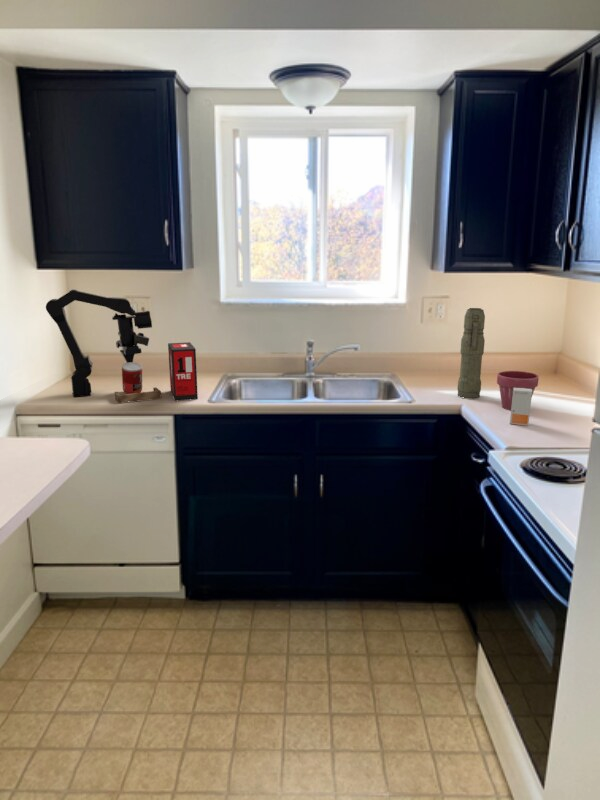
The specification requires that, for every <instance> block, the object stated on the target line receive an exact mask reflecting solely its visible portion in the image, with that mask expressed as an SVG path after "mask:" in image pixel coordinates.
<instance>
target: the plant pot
mask: <svg viewBox="0 0 600 800" xmlns="http://www.w3.org/2000/svg"><path fill="white" fill-rule="evenodd" d="M496 384H497V385H498V387H499V393H500V402H501V407H502V409H505V410H508V411H511V407H512V398H513V388H526V389H532V396H533V395H534V392H535V389H536V388H537V387H538V386H539V375H538V374H536V373H533V372H529V371H521V370H518V371H517V370H507V371H506V370H504V371H501V372H498V373H497V377H496Z"/></svg>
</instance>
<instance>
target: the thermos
mask: <svg viewBox="0 0 600 800" xmlns="http://www.w3.org/2000/svg"><path fill="white" fill-rule="evenodd" d="M484 311H485V310H484V309H482V308H481V307H480V308H479V307H469V308H467V309H466V312H465V314H464V321H463V335H462V337H461V340H460V350H459V351H460V355H461V357H460V369H459V378H458V380H457V395H458V396H460V397H464V398H463V399H465V398H477V399H479V398H481V397H480V395H481V390H482V380H481V375H482V372H481V371H482V362H483V355H484V350H485V336H484V333H485V332H484V330H485V322H486V321H485V320H486V315H485V312H484ZM458 396H457V397H458ZM460 397H459V398H460Z"/></svg>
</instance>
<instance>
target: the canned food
mask: <svg viewBox="0 0 600 800" xmlns="http://www.w3.org/2000/svg"><path fill="white" fill-rule="evenodd" d="M142 365H143V364H141V363H138V362H135V361H133V362H128V363H127V362H126V363H123V364H121V373H122V374H121V379H122V380H121V381H122V384H121V385H122V390H123V392H124V394H132V393H141V392H143V366H142Z"/></svg>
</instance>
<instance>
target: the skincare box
mask: <svg viewBox="0 0 600 800" xmlns="http://www.w3.org/2000/svg"><path fill="white" fill-rule="evenodd" d="M532 398H533V395H532V389H526V388H513V398H512V407H511V410H510V415H509V416H510V417H509V424H510V425H519V426H525V427H528V426H529V421H530V413H531V404H532Z"/></svg>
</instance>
